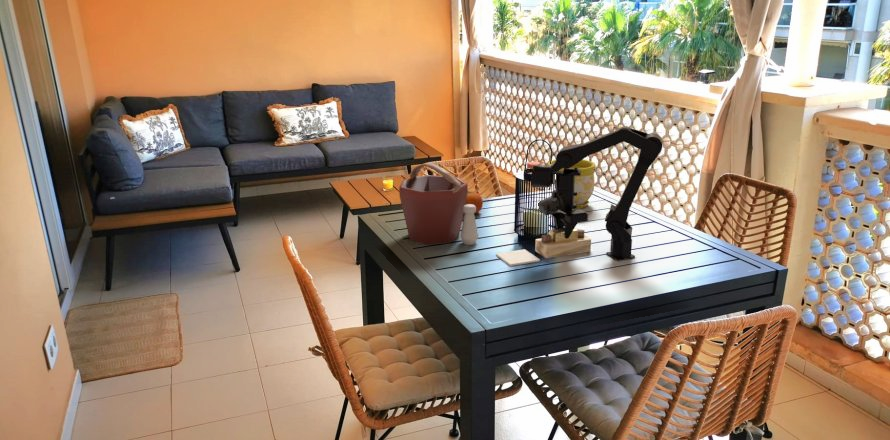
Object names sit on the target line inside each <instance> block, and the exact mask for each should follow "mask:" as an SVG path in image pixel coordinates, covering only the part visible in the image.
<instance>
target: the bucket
mask: <svg viewBox="0 0 890 440" xmlns="http://www.w3.org/2000/svg"><path fill="white" fill-rule="evenodd" d="M426 167H428V168H430V169H432V170H434V171H435V172H437V173H438V174H439V175H429V174H427V175H421V176H418V174H419V173H420V171H421V169H423V168H426ZM468 185H469V184H468V183H467V182H465V181H464V180H462V179H460V178H458V177H457V176H453V175H452V174H451V173H450V171H448V170H446V169H444V168H443V167H441V166H439V165H437V164H435V163H431V162H426V163H422V164H419V165H416V166H414V167H413V168H412V169H411V171H410V173H409V178H406V179H402V181H401V182H400V185H399V186H398V188H399V189H398V190H399V193H398V194H399V201H400V203H401V207H402V213H403V216H404V220H405V225H406V230H407V233H408V238H409V241H412V242H415V243H419V244H421V245H426V246H427V245H439V244H449V243H451V242H452V241H454V240H455V239H457V238H459V237H460V235H461V230H462V225H463V220H464V212H463V206H464V205H465V203H466V198H467V193H468V190H469V188H468Z"/></svg>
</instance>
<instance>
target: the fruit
mask: <svg viewBox="0 0 890 440" xmlns="http://www.w3.org/2000/svg"><path fill="white" fill-rule="evenodd" d="M467 204H472V205H475V206H476V212H475V213H474V215H475V214H478V213H479V212H481V210H482V209H483V204H484V200H483V197H482V196H481V195H480V194H479V193H477V192H475V191H472V190H469V191H468V193H467V198H466V203H465V205H467ZM464 214H465V213H464ZM464 214H463V215H464Z"/></svg>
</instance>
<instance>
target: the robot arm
mask: <svg viewBox="0 0 890 440" xmlns="http://www.w3.org/2000/svg"><path fill="white" fill-rule="evenodd" d="M622 143H626V144H629V145H631V146H633V147H634V148H637V149H639V150H640V151H639V154H638V158H637V161H636V164H635V166H634V167H633V170H632V172H631V175H630V176H629V179H628V181H627V184H626V185H625V188H624V190H623V193H622V194H621V197H620V199H619V201H618V202H617V203H616V204H615V205H614V204H612V203H611V204H610V208H609V211H608V213H606V214H605V218H604V222H606V223H605V229H606V231H607V233H608V234H610V236H611V237H610V238H611V239H610V248H609V250H610V251H606V253H605V254H606V255H607V256H609V257H611V258H613V259H614V260H616V261H623V260H630V259H635V258H636V255H634V254H632V249H633V248H632V247H633V246H632V245H633V239H632V234H633V233H632V232H633V227H632V225H630V223H629V222H628V217H629V212H630V209H631V207H632V204H633V203H634V201H635V198H636V196H637V193H638V191H639V189H640V188H641V185H642V183H643V181H644V179H645V176H646V174H647V172H648V170H649V168H650V167H651V165H652V164H653V163H654V162H655V161H656V159H657V158H658V156H659V155H660V154H661V153H662V150H663V139H662V137H661V135H659V134H658V133H656V132H655V133H654V132H651V133H647V132H644V131H641V130H638V129H634V128H631V127H629V126H627V125H624V126H621V127H620V128H619V127H618V129H616V130H614V131H613V130H612V131H610V132H608V133H606V134H603V135H601V136H599V137H596V138H593V139H591V140H588V141H587V142H584V143H578V144H571V145H567V146H564V147H562V148H561V149H559V151H558V153H557V154H556V156H555V160H556V161H555V162H553V164H552V165H551V166H548V165H542V164H541V165H534V166H533V172H532V177H531V185H532V186H533V187H543V188H548V187H549V188H550V187H551V184H553V185H554V182H555V174H556V190H554V191H553V192H552V196H549V197H546V198H544V199H542V201H540V202H539V203H538V206H539V209H540V212H541V213H542V215H543V214H544V216H549V215H550V216H551V217H552V218H553V221H554V224H555V229H556V228H562V227H564V231H565V238H566V239H567V238H569V237H570V235H571V233H572V231H573V230H574V229H576V227H577V225H578V224H579V223H586V222H589V214H588V213H587V212H586V211H585V210H582V209H575V208H577V205H575V204H574V196H577V192H575V176H580V175H581V173H582V171H581V170H579V169H578V167H577V166H576V167H575V168H574V169H568V168H570V167H572V166H574V165H575V164H577V163H578V162H580V161H581V160H585V158H587V157H589V156H591V155H594V154H596V153H599V152H601V151H604V150H606V149H608V148H611V147H613V146H616V145H618V144H622ZM562 168H563V169H564V171H559V170H560V169H562Z"/></svg>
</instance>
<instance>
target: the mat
mask: <svg viewBox="0 0 890 440" xmlns="http://www.w3.org/2000/svg"><path fill="white" fill-rule="evenodd" d="M495 256H496V257H497V258H498V259H500V260H501V261H503V262H504V263H506V264H507V265H508V266H509V267H513V266H520V265H525V264H527V265H528V264H531V263H538V262H541V260H540V258H538V257H537V256H535V255H534V254H533V253H531V252H530V251H528V250H527V249H525V248H524V249H518V250H517V249H516V250H511V251H504V252H498V253H497V252H496V253H495Z"/></svg>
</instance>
